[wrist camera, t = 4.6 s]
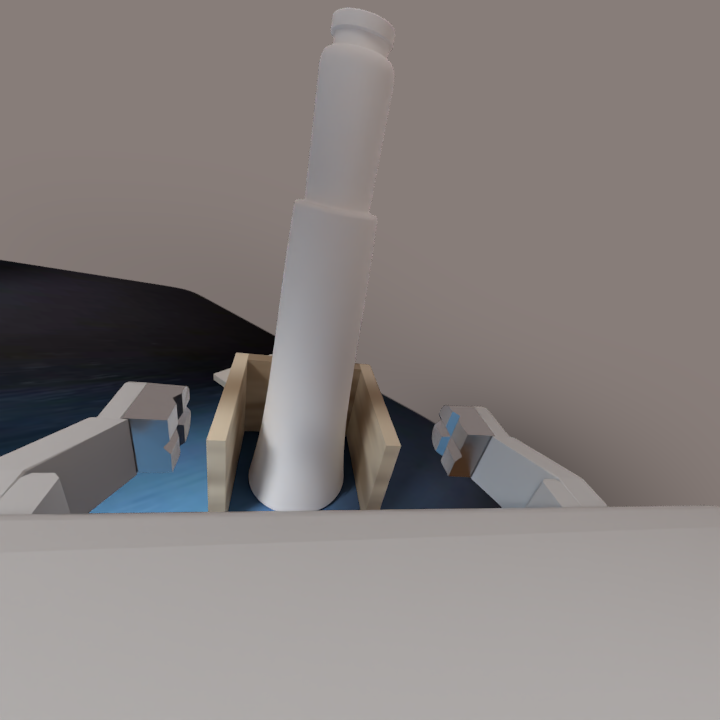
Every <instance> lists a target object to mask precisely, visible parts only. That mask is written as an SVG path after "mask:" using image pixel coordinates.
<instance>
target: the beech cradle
mask: <svg viewBox="0 0 720 720" xmlns="http://www.w3.org/2000/svg"><path fill="white" fill-rule="evenodd" d="M271 364H272V356H268V355H257V354H246V353H236V355H235V358H234V361H233V364H232V367H231V370H230V373H229V375H228V378H227V381H226V384H225V387H224V390H223V393H222V396H221V399H220V402H219V405H218V408H217V411H216V414H215V417H214V419H213V422H212V425H211V428H210V431H209V434H208V437H207V440H206V444H207V480H208V512H228V509H229V504H230V499H231V494H232V489H233V484H234V480H235V475H236V470H237V465H238V460H239V455H240V450H241V445H242V441H243V436H244V431H256V432H260V428H261V424H262V419H263V414H264V408H265V403H266V397H267V391H268V384H269V378H270V371H271ZM345 435H346V436H347V441H348V447H349V452H350V457H351V463H352V468H353V473H354V479H355V484H356V489H357V494H358V500H359V505H360V510H380V507H381V504H382V501H383V499H384V496H385V493H386V490H387V487H388V484H389V481H390V478H391V475H392V472H393V469H394V466H395V463H396V460H397V457H398V454H399V451H400V448H401V445H400V442H399V439H398V437H397V434H396V431H395V429H394V426H393V424H392V421H391V418H390V416H389V413H388V411H387V408H386V405H385V403H384V400H383V398H382V395H381V392H380V390H379V387H378V385H377V382H376V379H375V377H374V374H373V371H372V369H371V366H370V365H367V364H356V363H355V365H354V372H353V378H352V384H351V391H350V398H349V405H348V412H347V420H346V430H345Z"/></svg>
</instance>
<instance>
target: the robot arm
mask: <svg viewBox="0 0 720 720" xmlns="http://www.w3.org/2000/svg"><path fill="white" fill-rule="evenodd" d="M189 399H190V395H189V388H188V387H187V386H178V385H167V384H156V383H144V382H127V383H125V384H124V385H123V386H122V387H121V389H120V390H119V391H118V392H117V393H116V395H115V396H114V397H113V398H112V400H111V401H110V402H109V403H108V404H107V406H106V407H105V408H104V409H103V410H102V412H101V413H100V414H99V415H98V416H97V418H96V417H90V418H87V419H85V420H83V421H80V422H78V423H76V424H74V425H71V426H69V427H67V428H65V429H62V430H60V431H58V432H55V433H53V434H51V435H49V436H46V437H44V438H42V439H40V440H37V441H35V442H33V443H30V444H28V445H26V446H24V447H21V448H19V449H17V450H15V451H12V452H10V453H8V454H6V455H3V456H1V457H0V720H720V507H719V506H711V505H696V506H630V507H629V506H626V507H625V506H624V507H623V506H622V507H608V506H607V505H606V504H605V502H604V501H603V500H602V499H601V498H600V497H599V496H598V495H597V494H596V493H595V492H594V490H593V489H592V488H591V487H590V486H589V485H588V484H587V483H586V482H585V481H584V480H583V479H582V478H580V477H579V476H577V475H576V474H574V473H572V472H571V471H569V470H567V469H566V468H564V467H562V466H561V465H559V464H557V463H556V462H554V461H552V460H551V459H549V458H547V457H546V456H544V455H542V454H541V453H539V452H537V451H536V450H534V449H532V448H531V447H529V446H527V445H526V444H524V443H522V442H521V441H519V440H517V439H516V438H514V437H510V436H509V435H508V434H507V433H506V431H505V430H504V429H503V428H502V427H501V425H500V424H499V423H498V422H497V420H496V419H495V418H494V417H493V415H492V414H491V413H490V412H489V410H488V409H487V408H485V407H480V406H479V407H478V406H470V407H469V406H453V405H444V406H443V407H442V408H441V410H440V413H439V416H440V418H441V420H440V421H438V422H437V423H436V424H435V425H434V428H433V431H432V442H433V446H434V448H435V450H436V451H437V452H438V453H439V454H440V455H442V459H441V462H442V464H443V466H444V468H445V470H446V472H447V474H448V476H455V477H471V479H472V480H473V481H474V482H476V483H477V484H478V485H479V486H480V487H481V488H482V489H483V490H484V491H485V492H486V493H487V494H488V495H489V496H491V497H492V498H493V499H494V500H495V501H496V502H497V503H498V504H499V505H500V506H501V507H502V508H480V509H388V510H317V511H242V512H166V513H90V514H88V513H89V512H90V511H91V510H93V509H94V508H95V507H96V506H98V505H99V504H100V503H102V502H103V501H104V500H105V499H107V498H108V497H109V496H110V495H112V494H113V493H114V492H115V491H117V490H118V489H119V488H121V487H122V486H123V485H124V484H126V483H127V482H128V481H129V480H131V479H132V478H133V477H134V476H136V475H137V473H169V472H173V470H174V467H175V465H176V463H177V460H178V458H179V456H180V446H181V445H182V444H184V443H185V441H186V439H187V436H188V433H189V428H190V420H191V413H190V410H189V409H188V408H187V407H186V406H187V404H188V401H189Z"/></svg>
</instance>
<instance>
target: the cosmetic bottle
mask: <svg viewBox="0 0 720 720" xmlns="http://www.w3.org/2000/svg"><path fill="white" fill-rule="evenodd" d="M331 34H332V36H333V37H334V39H333V44H331V45H329V46H327V47H326V48H325V49H324V50H323V52H322V54H321V57H320V61H319V70H318V80H317V90H316V99H315V108H314V117H313V126H312V136H311V146H310V155H309V164H308V173H307V182H306V192H305V199H297V200H296V201H295V202H294V207H293V214H292V220H291V227H290V233H289V240H288V247H287V253H286V261H285V267H284V274H283V281H282V289H281V296H280V304H279V311H278V312H279V313H278V319H277V327H276V334H275V342H274V349H273V356H272V364H271V371H270V378H269V384H268V391H267V397H266V403H265V408H264V414H263V419H262V424H261V428H260V433H259V437H258V441H257V445H256V449H255V452H254V456H253V459H252V462H251V465H250V469H249V475H248V477H249V484H250V487H251V490H252V492H253V493H254V495H255V496H256V498H257V499H258V500H259V501H260V502H261V503H263V504H264V505H265V506H267V507H269V508H270V509H272V510H275V511H317V510H320V509H322V508H324V507H325V506H327V505H328V504H330V503H331V502H332V501H333V500H334V499H335V498H336V496H337V495H338V494H339V492H340V490H341V488H342V484H343V478H344V469H343V464H344V441H345V430H346V420H347V412H348V405H349V398H350V391H351V384H352V378H353V372H354V365H355V359H356V353H357V347H358V341H359V335H360V329H361V323H362V317H363V311H364V305H365V299H366V292H367V285H368V280H369V274H370V267H371V260H372V254H373V247H374V240H375V233H376V226H377V217H376V216H375V215H373V214H370V213H369V210H370V205H371V199H372V194H373V189H374V184H375V179H376V174H377V169H378V164H379V158H380V153H381V148H382V143H383V138H384V133H385V127H386V122H387V117H388V112H389V107H390V101H391V96H392V91H393V85H394V69H393V66H392V64H391V63H390V62H389V60H387V58H388V53H389V52H391V51H392V49H393V44H394V39H395V30H394V28H393V26H392V25H391V24H390V23H389V22H388V21H387V20H385V19H384V18H382V17H380V16H379V15H377V14H374V13H372V12H369V11H366V10H362V9H357V8H342V9H338V10H337V11H335V12H334V13H333V16H332V25H331Z"/></svg>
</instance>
